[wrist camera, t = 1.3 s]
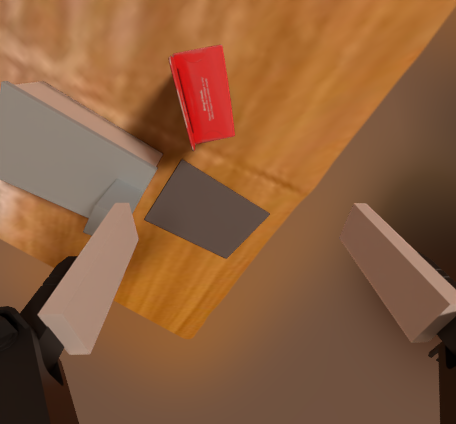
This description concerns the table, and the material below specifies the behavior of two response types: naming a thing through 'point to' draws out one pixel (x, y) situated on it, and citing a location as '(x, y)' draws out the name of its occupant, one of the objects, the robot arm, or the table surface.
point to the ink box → (203, 93)
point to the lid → (65, 159)
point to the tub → (91, 120)
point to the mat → (205, 211)
